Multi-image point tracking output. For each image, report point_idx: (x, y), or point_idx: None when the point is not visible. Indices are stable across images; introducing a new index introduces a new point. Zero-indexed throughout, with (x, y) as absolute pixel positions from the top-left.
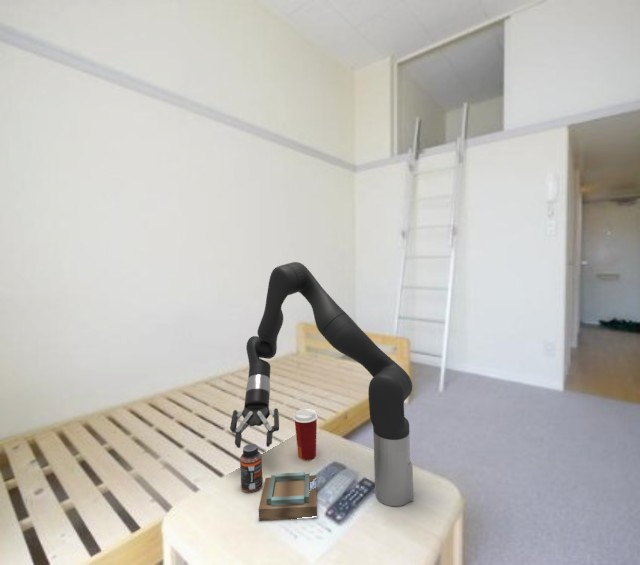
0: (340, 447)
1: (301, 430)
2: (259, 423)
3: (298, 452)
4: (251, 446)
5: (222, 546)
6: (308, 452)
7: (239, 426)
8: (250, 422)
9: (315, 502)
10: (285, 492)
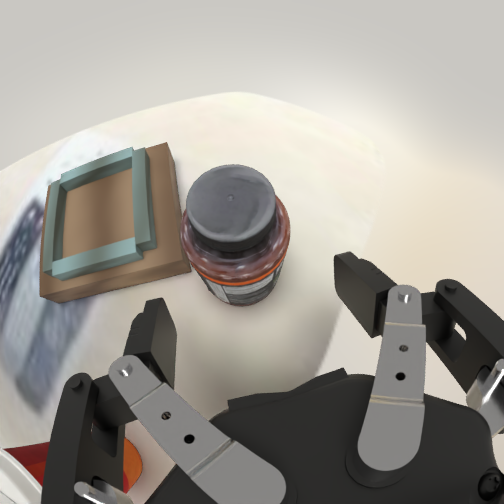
0: None
1: (43, 453)
2: (230, 400)
3: (127, 451)
4: (226, 207)
5: (227, 107)
6: None
7: (413, 313)
8: (338, 381)
9: (48, 195)
10: (107, 207)
